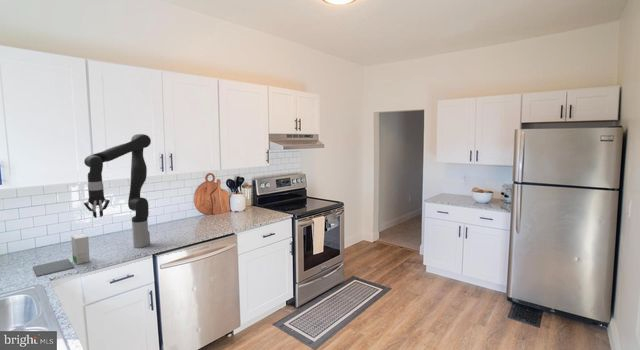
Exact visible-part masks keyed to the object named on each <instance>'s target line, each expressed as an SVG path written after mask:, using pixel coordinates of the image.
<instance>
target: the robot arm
mask: <svg viewBox="0 0 640 350" xmlns="http://www.w3.org/2000/svg"><path fill="white" fill-rule="evenodd" d="M151 141H152V139H151V137H150V136H149V135H147V134H142V133H140V134H138V133H137V134H134V135H132V137H131V139H130V141H128V142H125V143H122V144H119V145H115V146H112V147H110V148H107V149H104V150H102V151H100V152H96V153H93V154H89V155H88V156H87V157H85V159H84V165H85V166H87V167H88V168H89V172H88V173H87V189H88V190H87V191H88V199H87V201H86V202H83V205H84V206H85V207H86V209H87V210H88V211H89V212H92V217H93V218H95V219H96V218H97V211H96V210H97V206H98V209H99V210H98V213H99V217H100V218H102V217H103V216H104V210H107V208H108V206H109V204H110V202H111V201H110V199H108V198H105V194H104V190H105V189H104V183H103V175H102V173H103V169H104V163H106V162H107V163H108V162H111V161H113V160H115V159H118V158H120V157H122V156H125V155H127V154H129V153H131V160H130V161H131V163H130V164H131V165H130V166H131V167H130V185H129V186H130V187H129V193H128V195H129V196H128V200H127V207H128V209H129V210H131V211H135V215H134V216H132V217H131V227H132V229H131V230H132V241H133V247H134V248H135V249H140V248H146V247H148V246H150V245H151V235H150V234H151V233H150V230H149V221H148V218H149V215H150V212H149V207H150V206H149V202H148V201H149V200H148V199H147V198H145V197H141V191H142V187H143V186H144V184H145V181H146V180H147V176H148V175H147V173H148V168H147V164H146V161H145V157H144V149H145V148H148V147H150V146H151V143H152V142H151ZM90 205H92V206H91V207H92V208H91V207H90Z"/></svg>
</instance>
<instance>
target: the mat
mask: <svg viewBox="0 0 640 350" xmlns="http://www.w3.org/2000/svg"><path fill="white" fill-rule="evenodd" d="M32 268H33V270H34V273H35V275H36V278H38V276H39V277H42V275H43V276H46V275H50V274H56V273H60V272H63V271H68V270H72V269H75V266H74V264H73V263H72V262H71V260H70V259H69V258H65V259H60V260H56V261H55V260H54V261H50V262H47V263H42V264H37V265H33V266H32Z"/></svg>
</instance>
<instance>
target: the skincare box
mask: <svg viewBox="0 0 640 350" xmlns="http://www.w3.org/2000/svg"><path fill="white" fill-rule="evenodd" d="M70 239H71V251H72V253H71V254H72V262H74V263H75V264H76V265H81V264H84V263H88V262H91V261H90V260H91V259H90V246H89V245H90V243H89V236H88V235H87V234H85V233H80V234H75V235H74V234H73V235H71V236H70Z"/></svg>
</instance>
